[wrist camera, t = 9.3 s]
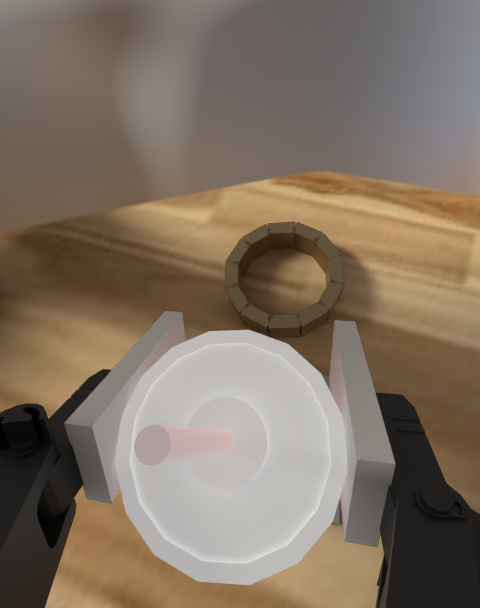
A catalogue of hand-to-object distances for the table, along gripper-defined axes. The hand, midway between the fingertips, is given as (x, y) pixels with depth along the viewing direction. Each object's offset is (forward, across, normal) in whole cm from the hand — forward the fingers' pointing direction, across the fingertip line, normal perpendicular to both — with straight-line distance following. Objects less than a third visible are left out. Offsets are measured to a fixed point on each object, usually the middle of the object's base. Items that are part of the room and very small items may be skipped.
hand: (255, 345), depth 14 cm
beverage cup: (+1, 0, -6) cm, 6 cm away
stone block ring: (+20, 0, -5) cm, 21 cm away
